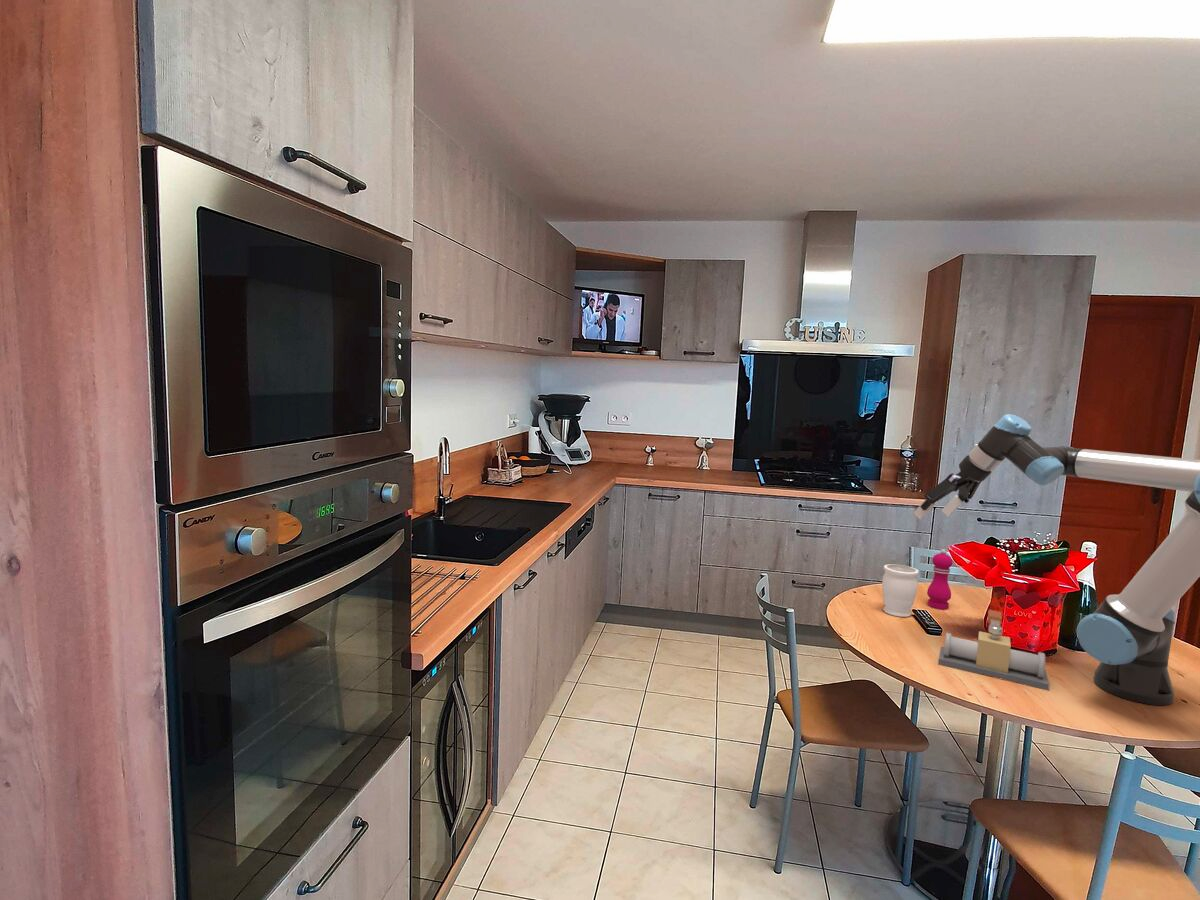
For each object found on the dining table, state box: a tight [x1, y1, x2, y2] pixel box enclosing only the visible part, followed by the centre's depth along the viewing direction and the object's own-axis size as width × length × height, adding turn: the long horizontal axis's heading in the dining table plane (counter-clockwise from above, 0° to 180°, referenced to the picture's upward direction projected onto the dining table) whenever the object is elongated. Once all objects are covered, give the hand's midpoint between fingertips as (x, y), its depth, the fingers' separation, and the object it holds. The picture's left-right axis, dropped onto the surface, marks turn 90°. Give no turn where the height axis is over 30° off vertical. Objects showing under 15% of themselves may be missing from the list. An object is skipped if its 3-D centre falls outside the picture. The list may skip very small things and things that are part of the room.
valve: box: [938, 631, 1050, 691], centre depth 164 cm, size 24×10×10 cm, turn 58°
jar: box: [881, 563, 919, 618], centre depth 204 cm, size 11×10×15 cm
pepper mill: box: [926, 548, 953, 611], centre depth 212 cm, size 7×7×20 cm
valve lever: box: [987, 609, 1003, 636], centre depth 169 cm, size 16×3×2 cm, turn 148°
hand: (931, 515), depth 187 cm, fingers open, 13 cm apart
